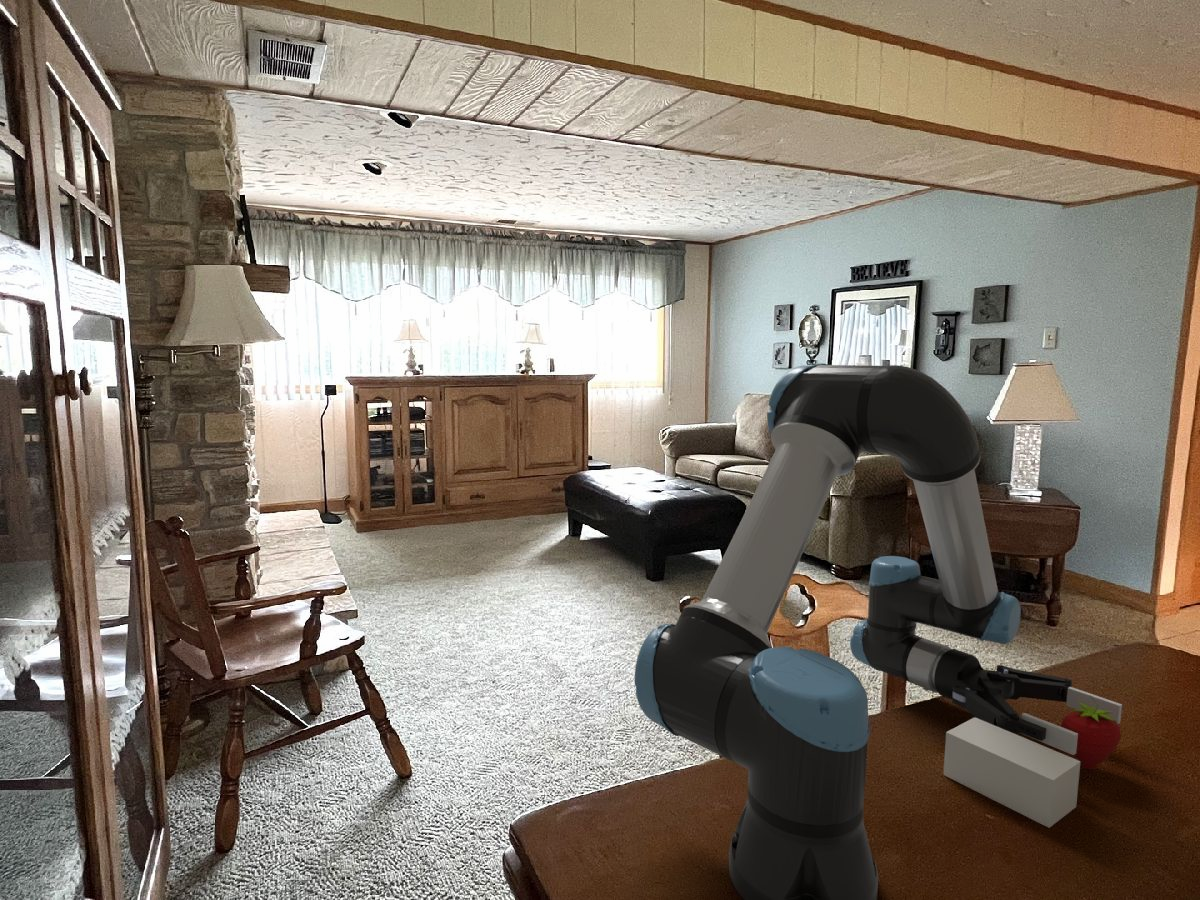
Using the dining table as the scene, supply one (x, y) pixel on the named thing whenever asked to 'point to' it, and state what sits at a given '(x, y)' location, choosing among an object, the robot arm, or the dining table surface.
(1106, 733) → the strawberry
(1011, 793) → the block
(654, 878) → the dining table surface
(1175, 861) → the dining table surface
